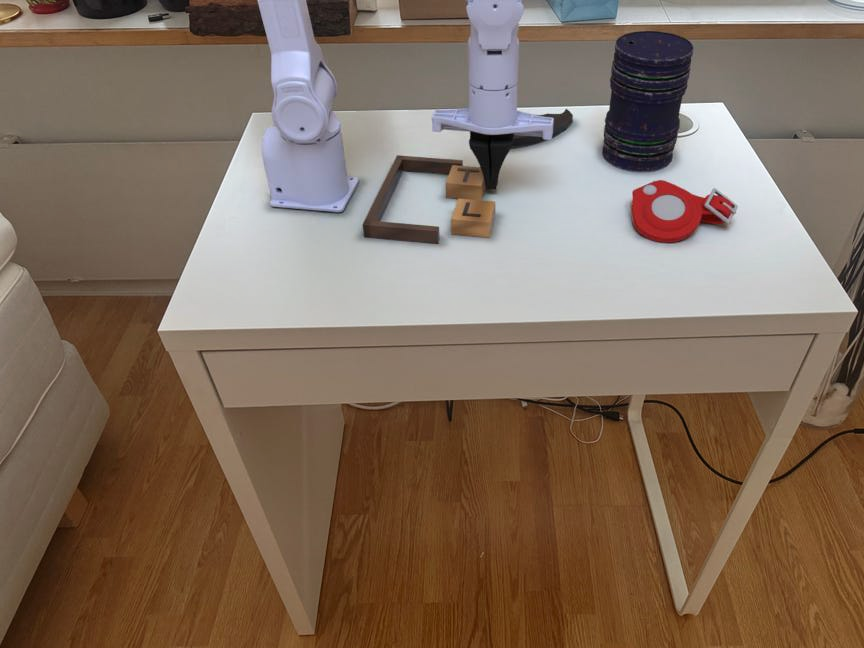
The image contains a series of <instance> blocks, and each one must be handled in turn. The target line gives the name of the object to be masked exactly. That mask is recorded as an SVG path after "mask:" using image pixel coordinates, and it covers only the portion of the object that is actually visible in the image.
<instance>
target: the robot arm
mask: <svg viewBox="0 0 864 648" xmlns="http://www.w3.org/2000/svg"><path fill="white" fill-rule="evenodd" d="M256 1H257V4H258V8H259V12H260V17H261V20H262V23H263V28H264V31H265V34H266V39H267V43H268V47H269V51H270V55H271V57H270V58H271V60H270V61H271V63H270V64H271V65H270V72H271V73H270V81H271V82H270V83H271V86H272V91H273V102H272V106H271V118H272V123H273V124H272V125H269V126H268V127H267V128H266V129H265V131H264V134H263V136H262V142H261V156H262V163H263V166H264V172H265V175H266V179H267V184H268V188H269V189H268V190H269V193H270V198H271V200H270V201H269V206H270V207H274V208H285V209H297V210H307V211H317V212H318V211H320V212H331V213H342V212H343V211H344V210H345V209H346V206H347V205H348V203H349V201H350V199H351V197H352V195H353V194H354V192H355V190H356V188H357V186H358V185H359V183H360V178H359V177H355V176H348V169H347V163H346V156H345V149H344V148H345V147H344V142H343V141H344V140H343V135H342V134H343V133H342V127H341V121H340V120H339V118H338V117H337V115H336V113H335V112H334V110H333V108H332V107H333V104H334V101H335V99H336V97H337V95H338V84H337V81H336V77H335V75H334V74H333V72H332V71H331V69H330V68H329V67H328V65H327V64H326V62H325V59H324V56H323V51H322V48H321V47H320V45H319V44H318V42H317V41H316V38H315V34H314V30H313V26H312V21H311V16H310V13H309V8H308V3H307V0H256ZM464 1H465V2H467V5H466V7H465V9H466V14H467V17H468V19H469V22H470V35H469V37H468V41H467V62H468V64H467V68H468V69H467V70H468V71H467V72H468V73H467V74H468V77H467V78H468V80H467V81H468V82H467V83H468V107H465V108H463V107H462V108H453V109H435V110H433V112H432V115H431V126H432V128H431V129H432V132H433V133H441V132H442V131H443V130H444V131H454V132H455V131H458V132H469V140H468V146H469V149H470V151H471V152H472V153H473V155H474V157H475V159H476V160H477V161H476V162H477V163H478V165H479V167H480V168H481V170H482V173H483V177H484V180H485V186H486V188H485V190H491V191H496V190H497V187H498V184H499V177H500V172H501V169H502V166H503V164H504V162H505V160H506V158H507V156H508V154H509V153H510V151H511V149H510V148H511V146H512V143H513V139H514V135H524V136H538V137H543V139H544V140H546V141H551V140H552V139H553V137H552V135H553V124H554V118H550V117H542V116H538V115H539V114H535V115H533V114H534V113H530V112H525V111H520V110H518V88H519V87H518V82H519V62H520V61H519V60H520V59H519V58H520V40H519V39H520V38H519V37H518V35H519V32H520V24H519V23H520V21H521V19H522V16H523V14H524V9H525V5H524V4H523V0H464Z"/></svg>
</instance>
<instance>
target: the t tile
mask: <svg viewBox="0 0 864 648" xmlns="http://www.w3.org/2000/svg"><path fill="white" fill-rule="evenodd" d="M485 191H486V186H485V180H484V177H483V173H482V170H481V168H480V166H469V165H463V166H458V165H452V168H451V170H450V173H449V175H447V178H446V181H445V198H446V199H454V200H455V199H457V200H458V199H470V200H482V201H483V197H484V194H485Z"/></svg>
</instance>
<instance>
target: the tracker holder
mask: <svg viewBox="0 0 864 648" xmlns="http://www.w3.org/2000/svg"><path fill="white" fill-rule="evenodd" d="M631 200H632V201H631V206H630V207H631V209H630V211H631V219H632V223H633V226H634V228H635V230H636V231H637V232H638V233H639V234H640V235H641V236H643V237H644V238H646V239H648V240H651V241H653V242H657V243H675V242H676V243H677V242H680V241H682V240H684V239H686V238H688V237H690V236H691V235H692V234H694V232H695V231H696V229H697V228H698V226H699V225H700V223H706V224H713V225H714V224H715V225H720V224H721V225H722V224H727V225H729V224H731V223H732V222H731V221H732V219H733V218H734V216H735V214H737V210H738V207H739V206H738V204H737V203H735V202H734V201H733V200H731V199H730V198H729V197H727V196H726V195H725V194H723V193H722V192H721V191H719V190H718V189H717V188H716V187H714V188H712V190H711V192H710V193H709V194H707V195H706V196H705V197H703V196H699V195H696V194H693V193H692V192H690V191H688V190H686V189H685V188H682V187H681V186H678V185H676V184H674V183H671V182H669V181H667V180H664V179H658V180H653V181H651V182H649V183H647V184H644V185H642V186H640V187H637V188H635V189H633V190H632V199H631Z"/></svg>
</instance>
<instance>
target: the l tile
mask: <svg viewBox="0 0 864 648" xmlns="http://www.w3.org/2000/svg"><path fill="white" fill-rule="evenodd" d="M455 203H456V204H455V206H454V207H455V208H454V210H453V212H452V215H451V218H450V225H451V227H450V228H451V235H454V236H465V237H477V238H487V239H488V238H489V239H490V238H491V235H492V230H493V227H494V224H495V223H494V222H495V218H496V201H493V200H483V199H482V200H470V199H457V201H456V202H455Z"/></svg>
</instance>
